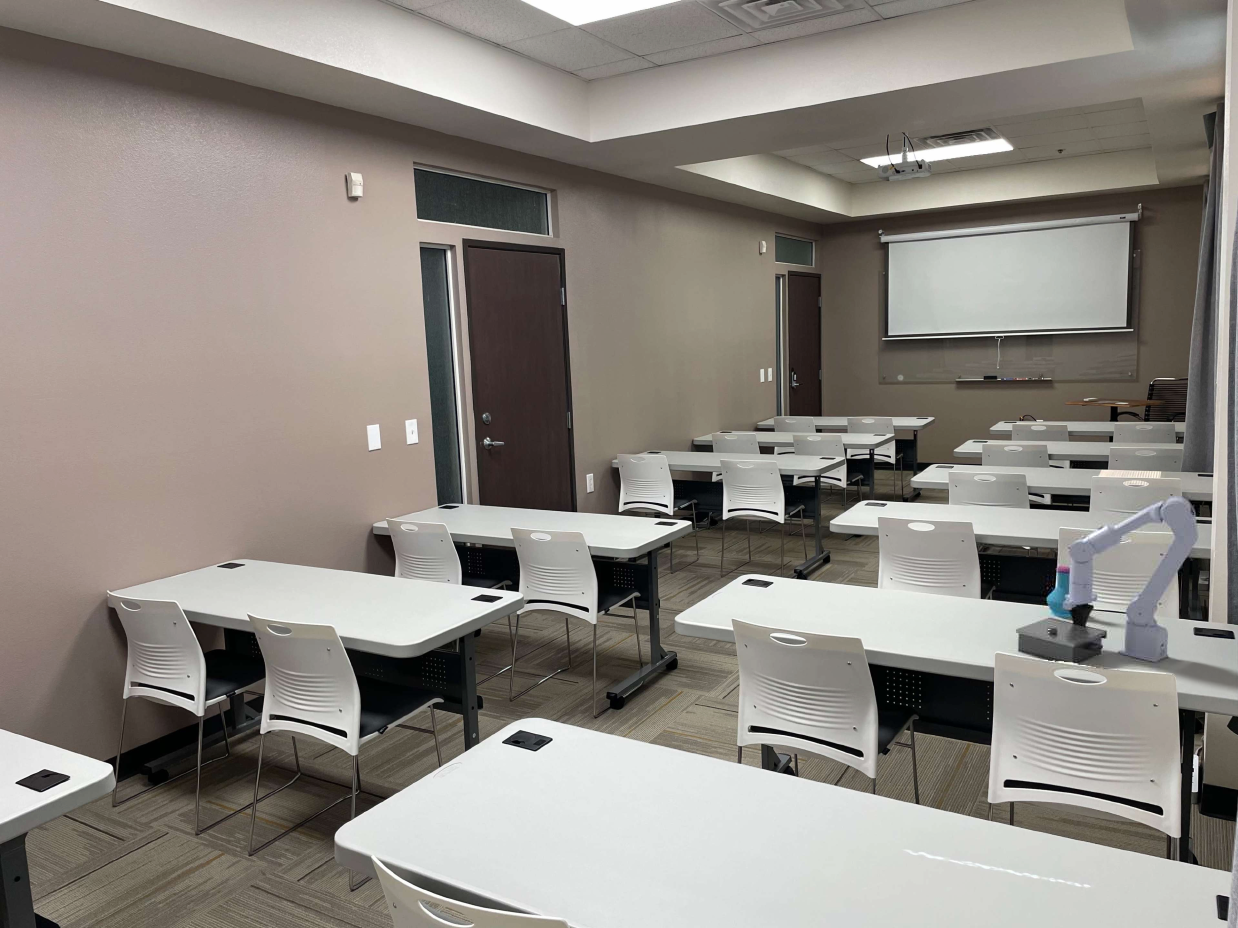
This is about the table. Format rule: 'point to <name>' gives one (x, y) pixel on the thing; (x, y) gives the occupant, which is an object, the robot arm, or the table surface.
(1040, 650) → the dark grey box
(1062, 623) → the cooker lid
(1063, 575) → the perfume bottle
